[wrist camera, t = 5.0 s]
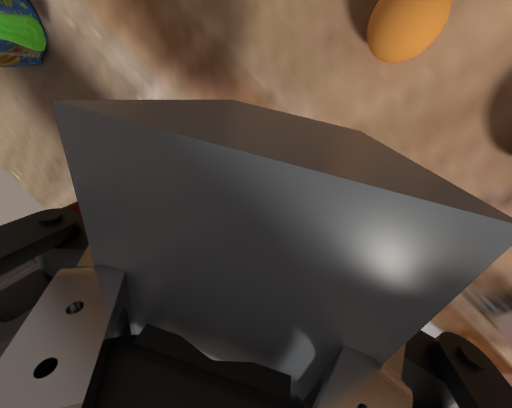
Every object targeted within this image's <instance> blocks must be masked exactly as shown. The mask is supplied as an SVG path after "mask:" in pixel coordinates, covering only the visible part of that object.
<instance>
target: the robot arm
mask: <svg viewBox="0 0 512 408" xmlns="http://www.w3.org/2000/svg"><path fill="white" fill-rule="evenodd" d="M33 258H36V261H37V263H38V265H39V267H40V269H38V270H36V271H34V272H33V273H31V274H29V275H27V276H26V277H24V278H22V279H20V280H19V281H17V282H15V283H13V284H12V285H10V286H8V287H6V288H4V289H3V290H1V291H0V344H1V343H3V342H4V341H5V340H7V339H8V338H10V337H11V336H12V335H14V334H15V333H16V332H17V333H16V335H15V337H14V338H13V340H12V341H11V343H10V344H9V346H8V347H7V349H6V350H5V352H4V353H3V355H2V356H1V358H0V408H512V387H511V386H510V384H509V383H508V382H507V380H506V379H505V378H504V377H503V375H502V374H501V373H500V371H499V370H498V369H497V368H496V366H495V365H494V364H493V363H492V361H491V360H490V359H489V358H488V357H487V356H486V355H485V354H484V353H483V352H482V351H481V350H480V349H479V348H477V347H476V346H475V345H474V344H472V343H471V342H469V341H468V340H466V339H465V338H463V337H461V336H459V335H457V334H454V333H451V332H443V333H441V334H440V335H439V336H438V337H436V338H433V337H431V336H430V335H428V334H426V333H425V332H423V331H421V330H419V331H418V332H417V333H416V334H415V335H414V336H413V337H412V338H411V339H410V340H409V341H408V342H406V343H405V344H404V345H403V346H402V347H401V348H400V349H399V350H398V351H397V352H396V353H395V354H393V355H392V356H391V357H390V358H389V359H388V360H387V361H386V362H385V363H384V364H383V365H382V364H381V363H380V362H378V361H377V360H375V359H374V358H372V357H370V356H368V355H366V354H364V353H362V352H360V351H358V350H356V349H353V348H351V347H348V346H345V345H344V346H343V347H342V348H341V350H340V351H339V352H338V353H337V355H336V356H335V357H334V358H333V360H332V361H331V362H330V363H329V365H328V366H327V367H326V368H325V369H324V371H323V372H322V373H321V374H320V376H319V377H318V378H317V379H316V381H315V382H314V383H313V384H312V386H311V387H310V388H309V389H308V391H307V392H306V393H305V394H304V395H303V397H302V398H301V399H300V398H299V397H298V396H297V395H296V394H295V393H294V392H292V391H291V390H290V388H291V376H290V375H288V374H285V373H282V372H279V371H277V370H274V369H271V368H268V367H266V366H263V365H260V364H257V363H255V362H237V361H216V360H212V359H210V358H209V357H207V356H206V355H205V354H204V353H202V352H201V351H200V350H198V349H197V348H196V347H194V346H193V345H192V344H191V343H189V342H188V341H187V340H185V339H184V338H183V337H182V336H180V335H177V334H175V333H172V332H169V331H166V330H164V329H161V328H158V327H155V326H153V325H150V324H146V325H145V327H144V328H143V329H142V331H141V332H140V334H139V335H136V333H135V327H134V321H133V315H132V308H131V302H130V296H129V290H128V283H127V277H126V271H125V270H122V269H119V268H115V267H111V266H105V265H94V261H93V257H92V254H91V250H90V246H89V242H88V238H87V235H86V231H85V227H84V223H80V221H79V217H78V214H77V213H76V212H75V211H73V210H70V209H63V208H58V209H48V210H44V211H40V212H37V213H34V214H31V215H28V216H26V217H24V218H20V219H18V220H15V221H12V222H9V223H7V224H4V225H1V226H0V276H1V275H2V274H4V273H6V272H8V271H10V270H12V269H14V268H16V267H18V266H20V265H22V264H24V263H25V262H27V261H29V260H31V259H33Z"/></svg>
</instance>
